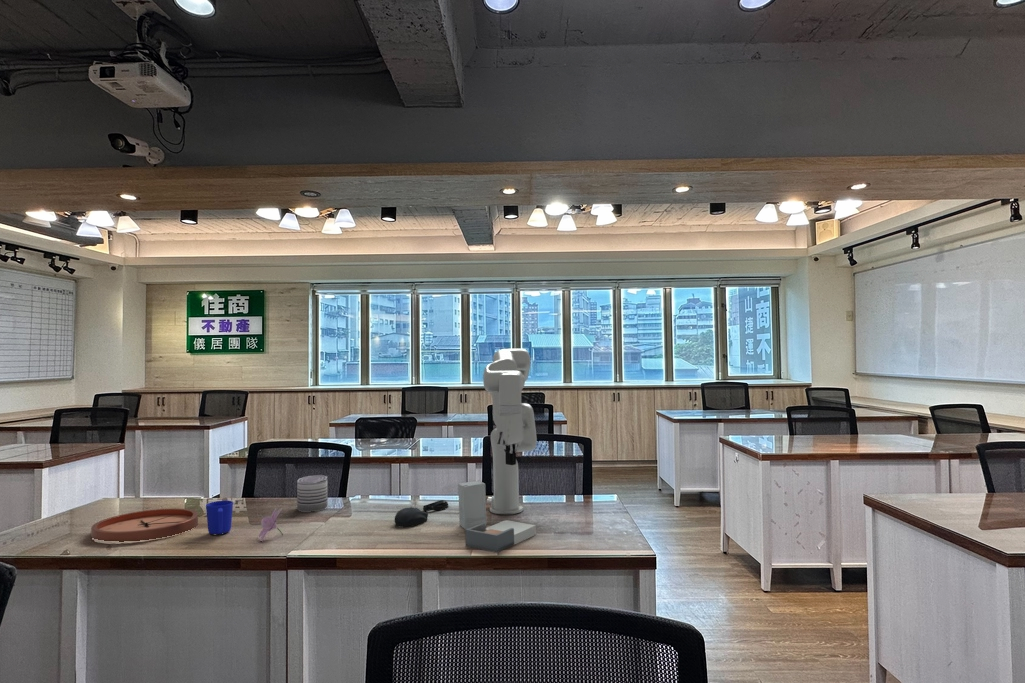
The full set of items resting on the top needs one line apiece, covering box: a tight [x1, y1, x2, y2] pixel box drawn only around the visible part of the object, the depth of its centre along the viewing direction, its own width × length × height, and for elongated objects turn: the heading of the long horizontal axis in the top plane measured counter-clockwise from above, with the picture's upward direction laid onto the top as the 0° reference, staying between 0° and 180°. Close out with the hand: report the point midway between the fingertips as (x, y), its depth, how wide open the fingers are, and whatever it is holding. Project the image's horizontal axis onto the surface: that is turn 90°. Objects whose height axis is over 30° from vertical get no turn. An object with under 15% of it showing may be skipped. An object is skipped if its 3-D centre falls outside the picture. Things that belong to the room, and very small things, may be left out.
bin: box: [464, 522, 514, 554], centre depth 183 cm, size 12×9×5 cm
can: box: [296, 474, 329, 513], centre depth 233 cm, size 11×11×12 cm
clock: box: [90, 507, 199, 542], centre depth 206 cm, size 31×4×31 cm
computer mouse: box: [394, 499, 449, 528], centre depth 219 cm, size 10×32×6 cm, turn 160°
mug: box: [205, 500, 234, 535], centre depth 199 cm, size 8×12×10 cm
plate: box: [486, 519, 537, 546], centre depth 192 cm, size 12×12×3 cm
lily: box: [258, 507, 284, 542], centre depth 195 cm, size 12×12×10 cm
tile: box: [484, 529, 503, 534], centre depth 185 cm, size 6×6×2 cm
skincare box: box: [457, 480, 487, 530], centre depth 205 cm, size 8×6×15 cm
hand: (510, 464), depth 199 cm, fingers closed
